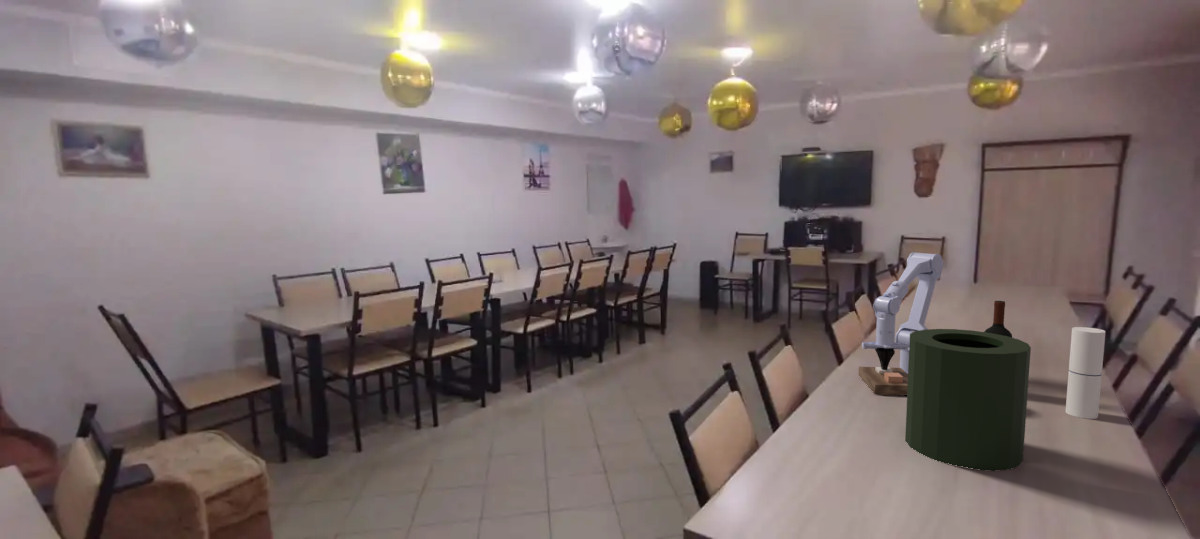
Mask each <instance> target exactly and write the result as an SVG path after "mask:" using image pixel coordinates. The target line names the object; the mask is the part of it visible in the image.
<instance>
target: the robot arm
mask: <svg viewBox="0 0 1200 539" xmlns="http://www.w3.org/2000/svg"><path fill="white" fill-rule="evenodd" d="M944 264H945V263H944V261H943V257H942V255H941V254H940V253H926V252H925V253H924V252H923V253H922V252H915V251H914V252H911V253H910V254H909V255H908V257H907V259H906V267H905V269H904V271H903V272H902V273H901V276H899V278H898V280H894V281H893V282H892V283H891V284H890V285H889V286H888V288H887V289H886V291H884V292H883V294H882V295H880V296H878V297H875V300H874V302H873V306H872V308H873V310H874V316H875V317H876V326H875V327H876V328H875V330H876V331H875V332H876V333H875V341H869V342H868V341H865V342H864V341H863V342H861V348H862V349H863V350H867V349H869V350H870V349H872V350H875V352H876V354H877V357H878V360H879V364H880V367H881V369H882V370H887V368H888V367H889V365H890V362H891V360H892V358H893V357H894V356H895V353H896V350H900V351H899V368H902V369H903V370H904V371H905V372H906V373H907V374H908V366H909V343H910V334H911V333H913V332H915V331H920V330H927V329H928V327H927V326H926V325H925V323H926V320H927V315H928V312H929V309H930V305H931V301H932V298H933V295H934V291H935V287H936V284H937V280H938V279H940V278H941V275H942V271H943V267H944ZM916 278H918V281H919V282H918V285H917V288H916V292H915V295H914V299H913V302H912V306H911V310H910V313H909V316H908V320H907V321H906V322H904V323H902V324H900V325H899V328H898V330H897V331H896V330H895V329H896V314H897V313H899V312H900V309H901V305H902V300H903V299H904V297H905V296H906V295H907V294H908V292H909V286H910V284H911V283H912V282H913V281H914V280H915V279H916Z"/></svg>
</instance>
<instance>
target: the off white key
mask: <svg viewBox="0 0 1200 539" xmlns="http://www.w3.org/2000/svg"><path fill="white" fill-rule="evenodd" d="M874 367H875V370H876V371H877V372H878V373H883V374H884V372H887V373H893V371H892V370H891V369H890V368H891V367H889V366H888V368H887V370H882V369H881V366H874Z"/></svg>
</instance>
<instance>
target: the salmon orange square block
mask: <svg viewBox="0 0 1200 539" xmlns="http://www.w3.org/2000/svg"><path fill="white" fill-rule="evenodd" d="M884 379H885V380H886V381H887V382H888V383H903V376H902V375H900V374H899V373H887V372H884Z"/></svg>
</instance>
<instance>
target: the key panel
mask: <svg viewBox="0 0 1200 539" xmlns="http://www.w3.org/2000/svg"><path fill="white" fill-rule="evenodd" d="M875 367H876V366H858V373H857V374H858V375H859V376H860V377H861V378H862V379H861V378H860V377H859V376H858V377H859V378H860V379H861V381H862V382H863V381H864V382H865V383H866V384H867V385H868V386H867V385H866V384H865V383H864V382H863V383H864V384H865V385H866V386H867V388H868V389H869V388H870V389H871V390H872V391H873V392H872V391H871V390H870V389H869V390H870V391H871V392H872V393H873V395H875V394H881V395H880V396H896V395H907V389H908V374H907V373H906V372H905V371H904V370H903V369H902V368H900V367H889V368H890V369H891V370H892V371H893V373H899V374H900V375H902V376H903V383H888V382H887V381H886V380H885V379H884V374H883V373H878V372H877V371H876V370H875Z"/></svg>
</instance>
